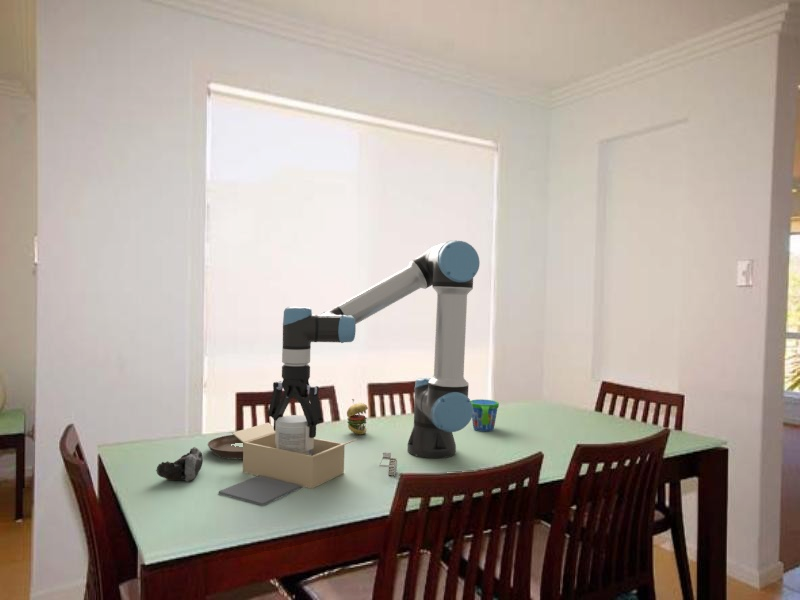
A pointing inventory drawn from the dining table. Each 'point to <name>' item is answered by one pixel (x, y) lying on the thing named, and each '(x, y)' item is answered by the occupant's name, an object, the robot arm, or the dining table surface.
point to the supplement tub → (292, 434)
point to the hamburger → (357, 418)
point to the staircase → (388, 456)
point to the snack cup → (484, 414)
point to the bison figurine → (182, 466)
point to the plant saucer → (226, 447)
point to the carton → (290, 458)
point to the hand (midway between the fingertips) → (294, 446)
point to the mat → (260, 490)
